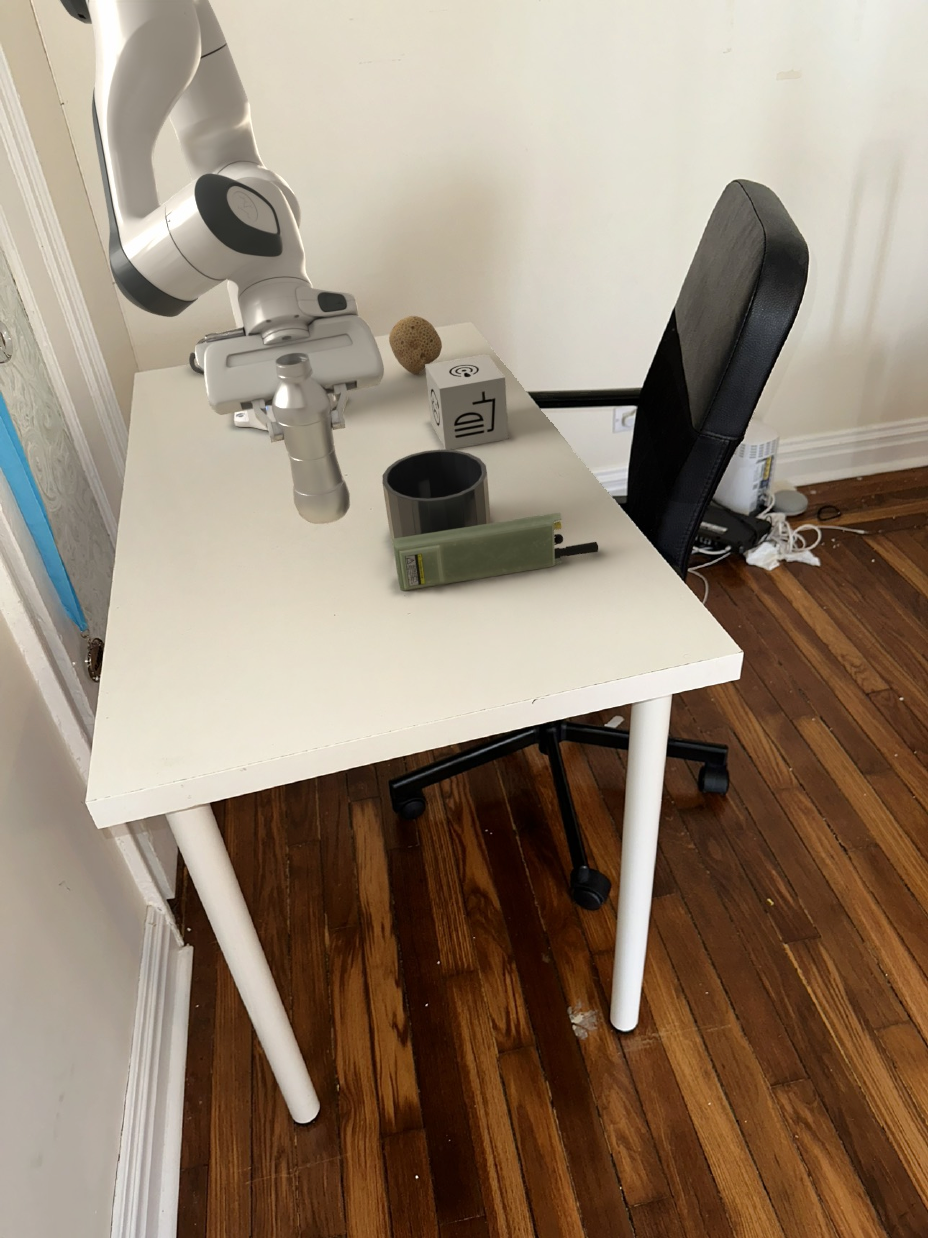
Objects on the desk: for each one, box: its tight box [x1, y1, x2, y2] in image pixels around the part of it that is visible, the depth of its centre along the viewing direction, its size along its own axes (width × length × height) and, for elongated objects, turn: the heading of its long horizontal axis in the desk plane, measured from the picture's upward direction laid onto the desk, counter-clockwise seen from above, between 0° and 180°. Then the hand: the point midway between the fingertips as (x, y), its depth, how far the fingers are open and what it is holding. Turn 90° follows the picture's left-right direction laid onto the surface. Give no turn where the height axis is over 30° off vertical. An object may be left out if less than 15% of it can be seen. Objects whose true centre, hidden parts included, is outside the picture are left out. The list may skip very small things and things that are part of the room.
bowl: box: [381, 449, 492, 545], centre depth 118 cm, size 13×13×9 cm
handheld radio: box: [392, 512, 599, 591], centre depth 111 cm, size 7×3×25 cm
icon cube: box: [424, 353, 509, 450], centre depth 142 cm, size 10×10×10 cm
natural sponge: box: [388, 315, 443, 375], centre depth 162 cm, size 9×9×10 cm
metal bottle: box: [272, 353, 351, 525], centre depth 106 cm, size 6×7×20 cm
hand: (308, 433), depth 104 cm, fingers closed on metal bottle, 6 cm apart
